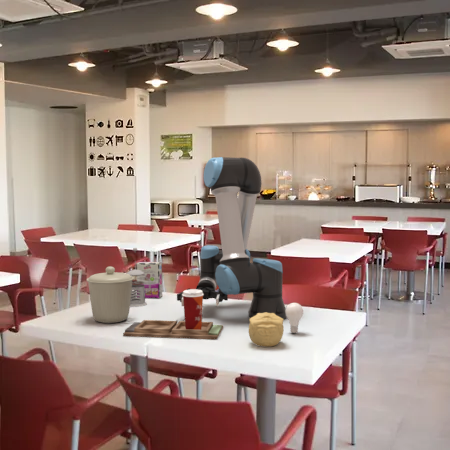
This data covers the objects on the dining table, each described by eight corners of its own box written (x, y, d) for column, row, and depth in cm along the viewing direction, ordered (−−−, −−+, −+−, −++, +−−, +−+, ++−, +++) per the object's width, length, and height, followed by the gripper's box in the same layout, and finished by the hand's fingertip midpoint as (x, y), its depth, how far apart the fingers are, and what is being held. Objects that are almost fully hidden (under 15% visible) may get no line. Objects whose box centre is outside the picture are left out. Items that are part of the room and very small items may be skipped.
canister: (111, 312, 243) (110, 262, 241) (144, 318, 233) (143, 265, 231) (77, 321, 228) (76, 267, 227) (110, 328, 218) (109, 271, 216)
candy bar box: (162, 296, 277) (162, 261, 276) (159, 298, 272) (159, 263, 271) (139, 295, 279) (139, 261, 278) (136, 298, 274) (135, 262, 273)
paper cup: (203, 332, 207) (203, 293, 206) (181, 332, 207) (181, 293, 206) (204, 326, 215) (204, 288, 214) (183, 326, 215) (182, 288, 214)
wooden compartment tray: (223, 327, 218) (223, 321, 218) (216, 339, 202) (216, 332, 202) (136, 325, 222) (136, 318, 222) (123, 336, 207) (123, 329, 206)
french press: (128, 301, 265) (127, 246, 264) (153, 302, 264) (152, 246, 262) (121, 306, 256) (120, 248, 254) (147, 307, 254) (146, 249, 252)
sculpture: (249, 349, 190) (249, 316, 190) (247, 339, 202) (247, 308, 201) (285, 349, 190) (285, 316, 190) (281, 339, 202) (281, 308, 202)
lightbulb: (298, 336, 206) (298, 305, 205) (282, 334, 209) (282, 303, 208) (306, 332, 211) (306, 302, 210) (289, 330, 214) (290, 300, 213)
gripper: (236, 297, 241) (232, 312, 220) (176, 297, 243) (167, 312, 222) (235, 279, 240) (232, 292, 219) (176, 279, 242) (166, 293, 221)
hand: (199, 302), depth 221 cm, fingers open, 12 cm apart
